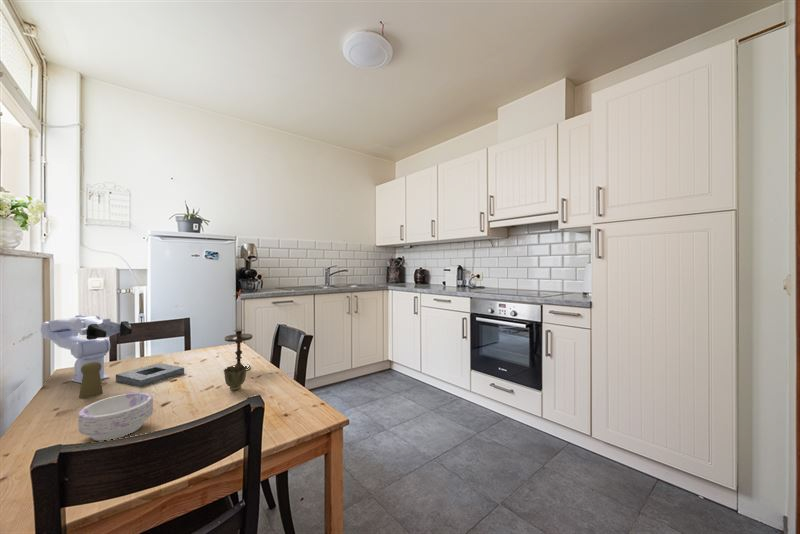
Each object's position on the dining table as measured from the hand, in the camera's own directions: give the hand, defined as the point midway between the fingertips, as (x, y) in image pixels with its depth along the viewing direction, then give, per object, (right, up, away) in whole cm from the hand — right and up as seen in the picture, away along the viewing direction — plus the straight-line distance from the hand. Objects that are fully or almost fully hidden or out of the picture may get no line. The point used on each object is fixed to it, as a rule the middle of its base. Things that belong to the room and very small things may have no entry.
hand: (118, 332), depth 118 cm
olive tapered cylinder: (-4, -21, -6) cm, 22 cm away
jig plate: (+3, -20, +12) cm, 24 cm away
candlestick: (+33, -21, +22) cm, 45 cm away
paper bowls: (+27, -21, -30) cm, 46 cm away
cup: (+43, -21, -1) cm, 48 cm away
